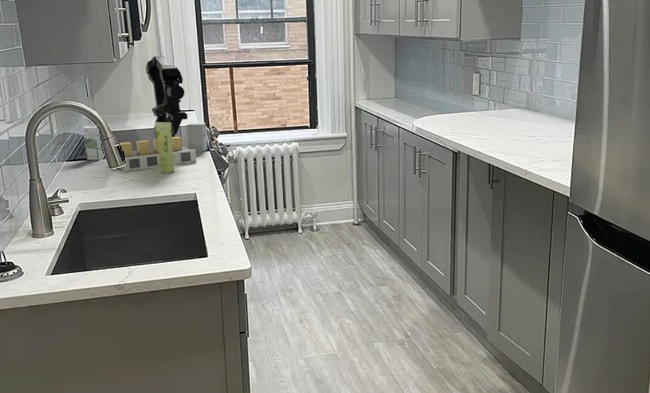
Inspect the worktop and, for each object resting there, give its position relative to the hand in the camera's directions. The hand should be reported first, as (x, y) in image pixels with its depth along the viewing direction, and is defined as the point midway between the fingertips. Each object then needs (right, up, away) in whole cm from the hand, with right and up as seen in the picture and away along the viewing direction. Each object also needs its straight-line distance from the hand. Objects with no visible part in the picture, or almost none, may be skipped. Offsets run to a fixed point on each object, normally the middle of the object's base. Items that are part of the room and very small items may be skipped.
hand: (175, 134), depth 260 cm
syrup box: (-35, -11, +4) cm, 37 cm away
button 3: (-12, -10, -5) cm, 16 cm away
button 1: (0, -8, +2) cm, 8 cm away
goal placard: (-3, -14, -12) cm, 18 cm away
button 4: (-18, -11, -9) cm, 22 cm away
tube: (+2, -17, -22) cm, 28 cm away
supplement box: (+6, -6, +19) cm, 20 cm away
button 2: (-6, -9, -2) cm, 11 cm away
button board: (-9, -12, -3) cm, 15 cm away
